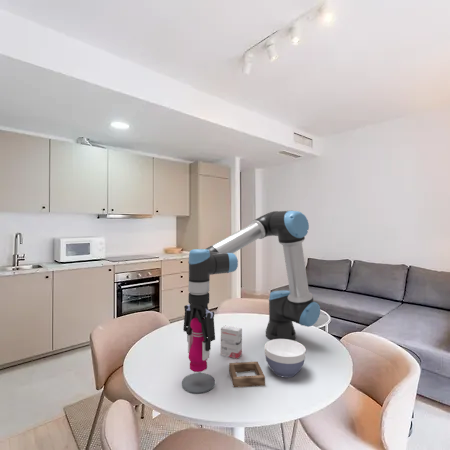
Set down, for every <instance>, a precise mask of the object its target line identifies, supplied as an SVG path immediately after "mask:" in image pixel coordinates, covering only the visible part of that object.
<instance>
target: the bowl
mask: <svg viewBox="0 0 450 450" xmlns="http://www.w3.org/2000/svg"><path fill="white" fill-rule="evenodd" d="M306 352H307V349H306V346H305V345H304V344H302V343H300V342H299V341H296V340H288V339H273V340H270V339H269V340H268V341H266V343H265V344H264V355H265V360H266V362H267V364H268V367H269V368H270V370H272V372H273V373H274V374H275V375H276V374H277V376H278V375H279V377H281V376H283V378H292V377H295V376H296V375H297V373H299V372H300V371H301V369H302V368H303V366H304V364H305V359H306ZM295 374H296V375H295ZM294 375H295V376H294Z"/></svg>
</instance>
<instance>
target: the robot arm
mask: <svg viewBox="0 0 450 450" xmlns="http://www.w3.org/2000/svg"><path fill="white" fill-rule="evenodd" d="M307 218H308V217H307V216H306V215H305V214H303V212H301V211H300V210H299V211H297V210H279V211H278V210H274V211H269V212H268V213H267V212H266V214H263V215H260V216H259V217H257V218H256V219H254V220H252V221H250V224H249V225H246V226H245V227H243V228H241V229H240V230H238V231H236V232H235V233H232V234H230V235H229V236H227V237H225V238H223V239H221V240H219V241H217V242H216V243H214V244H212V245H210V246H208V247H206V248H205V249H204V248H196V249H191V250H189V253H188V285H187V286H188V287H187V288H188V290H187V291H188V300H187V301H188V304H186V305H184V317H183V318H184V319H183V328H182V329H183V332H184V333H185V334H186V335H187V340H186V341H187V353H188V354H189V351H190V348H191V346H192V343H193V336H192V328H191V326H190V324H191V320H192V319H193V318H198V320H199V322H200V323H201V327H202V333H203V337H204V341H203V347H202V360H203V361H204V360H206V359H207V360H208V359H210V351H211V343H212V342H213V341H215V340H216V332H215V331H216V330H215V320H214V319H215V312H214V311H210V310H209V307H208V305H209V303H210V279H211V277H210V276H211V275H212V276H213V275H219V274H230V273H233V272H236V271H237V270H238V266H239V260H238V257H237V255H236V254H235V253H237V252H238V251H240V250H241V249H243V248H245V247H246V246H248V245H250V244H252V243H253V242H255V241H257V240H258V239H259V240H263V239H264V238H266V237H272V236H273V237H274V236H276V237H277V238H278V239H277V240H278V243H279V244H280V245H282V248H283V255H284V256H283V257H284V262H285V267H286V275H287V281H288V288H289V290H282V289H281V290H274V291H271V292H270V294H269V296H268V297H269V299H268V307H269V308H268V311H269V312H268V315H269V317H268V323H267V326H266V329H265V337H266V338H267V339H268V340H269V341H270V340H273V339H288V340H293V341H296V337H297V336H296V335H297V334H296V330H295V325H294V324H293V323H296V324H299V325H300V326H304V327H307V328H309V327H312V326H314V325H315V324H316V323H317V322H318V320H319V318H320V316H321V306H320V305H319V303H318V302H316V301H314V296H313V293H312V292H310V291H309V284H308V283H309V282H308V276H307V269H306V262H305V256H304V255H305V254H304V249H303V242H304V241H305V239H306V238H305V237H306V236H307V235H308V233H309V232H308V231H309V228H310V225H309V220H308V219H307ZM203 318H204V319H203Z"/></svg>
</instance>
